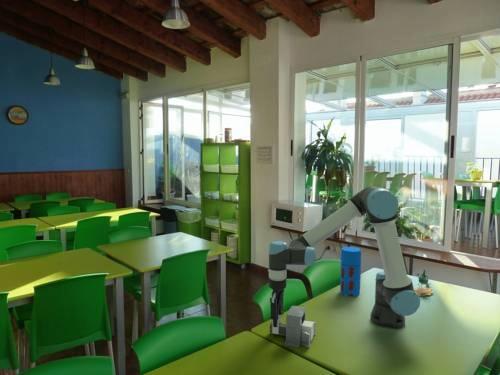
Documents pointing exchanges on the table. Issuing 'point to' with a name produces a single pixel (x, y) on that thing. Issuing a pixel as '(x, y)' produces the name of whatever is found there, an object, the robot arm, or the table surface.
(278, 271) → the robot arm
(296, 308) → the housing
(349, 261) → the thermos
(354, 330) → the table surface
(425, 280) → the frog figurine
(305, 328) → the plug
